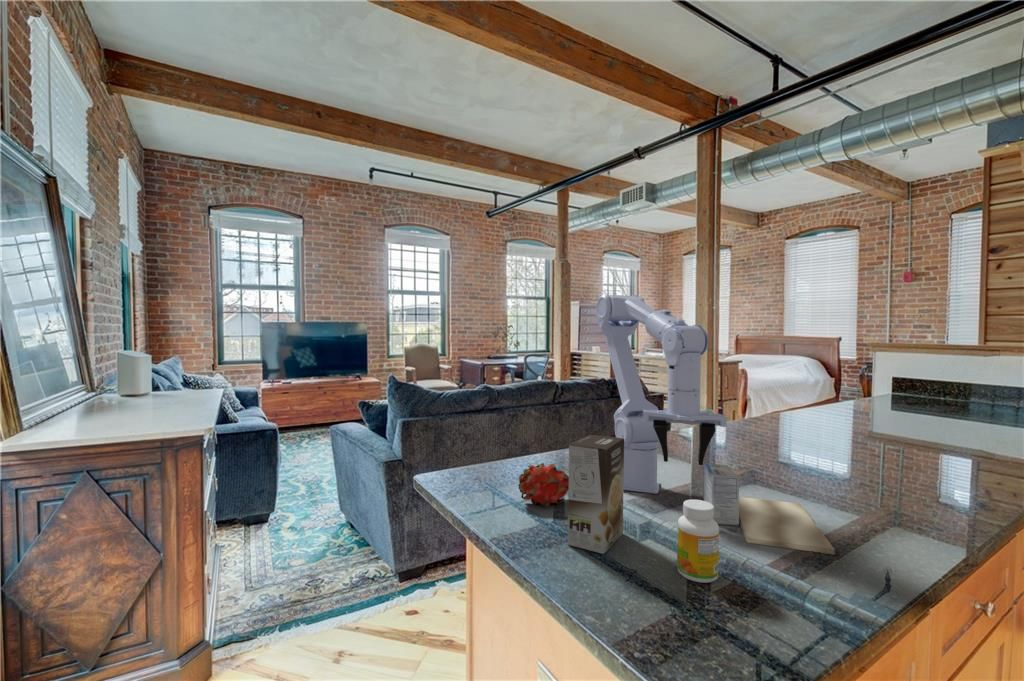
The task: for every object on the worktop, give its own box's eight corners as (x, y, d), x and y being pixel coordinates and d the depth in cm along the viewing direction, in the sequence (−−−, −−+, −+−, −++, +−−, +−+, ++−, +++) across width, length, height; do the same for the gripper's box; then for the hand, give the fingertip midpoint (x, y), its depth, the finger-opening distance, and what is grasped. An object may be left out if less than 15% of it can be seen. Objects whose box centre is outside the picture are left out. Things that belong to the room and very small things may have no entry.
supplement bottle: (670, 564, 67) (671, 497, 67) (706, 563, 67) (707, 497, 67) (687, 584, 61) (688, 512, 61) (726, 583, 62) (727, 511, 62)
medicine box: (739, 526, 80) (740, 477, 80) (712, 524, 81) (712, 475, 81) (727, 509, 88) (728, 464, 88) (702, 508, 89) (703, 463, 89)
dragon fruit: (511, 513, 89) (565, 514, 94) (530, 499, 83) (587, 500, 88) (507, 471, 94) (558, 473, 99) (524, 454, 88) (578, 458, 92)
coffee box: (605, 555, 69) (606, 449, 69) (566, 545, 73) (567, 444, 72) (624, 533, 77) (625, 437, 77) (588, 524, 81) (588, 433, 80)
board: (746, 542, 74) (746, 537, 74) (731, 499, 93) (731, 496, 93) (834, 554, 70) (834, 549, 70) (799, 507, 89) (799, 503, 89)
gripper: (642, 390, 85) (641, 463, 85) (729, 394, 80) (727, 472, 80) (644, 386, 91) (643, 454, 92) (724, 389, 87) (723, 461, 87)
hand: (683, 462), depth 86 cm, fingers open, 5 cm apart
